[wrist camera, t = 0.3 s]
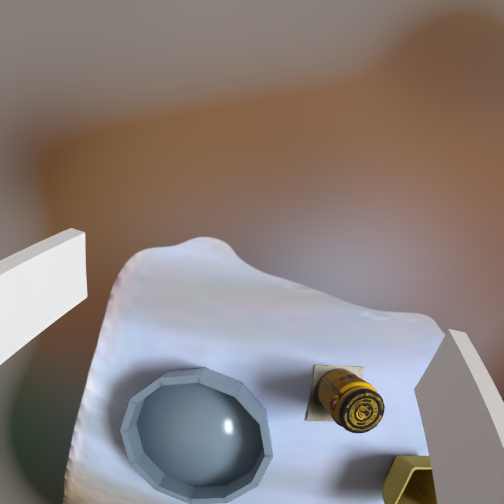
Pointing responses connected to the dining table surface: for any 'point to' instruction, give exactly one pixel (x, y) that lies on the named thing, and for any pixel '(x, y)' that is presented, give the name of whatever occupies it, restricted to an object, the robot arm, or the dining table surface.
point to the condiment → (344, 398)
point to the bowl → (198, 436)
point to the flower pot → (410, 481)
